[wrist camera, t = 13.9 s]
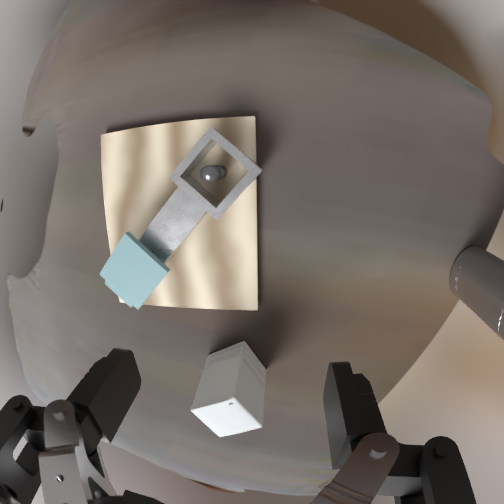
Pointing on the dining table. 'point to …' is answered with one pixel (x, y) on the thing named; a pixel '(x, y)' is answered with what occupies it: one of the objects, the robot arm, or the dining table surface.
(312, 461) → the dining table surface
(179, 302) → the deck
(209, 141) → the link
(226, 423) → the supplement box
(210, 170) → the cylinder
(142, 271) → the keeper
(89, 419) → the robot arm
